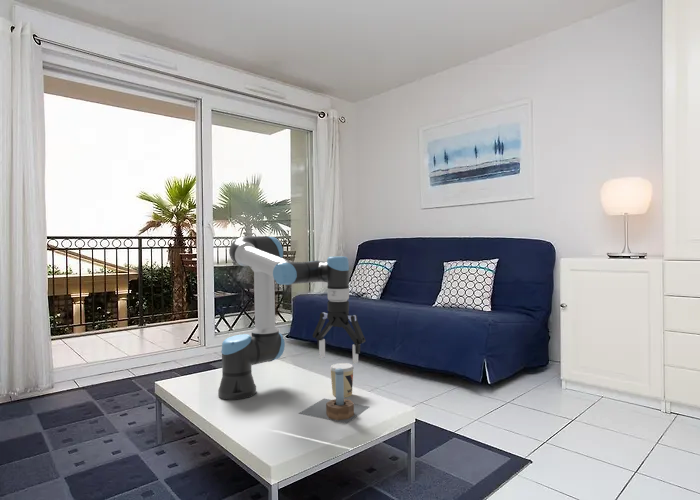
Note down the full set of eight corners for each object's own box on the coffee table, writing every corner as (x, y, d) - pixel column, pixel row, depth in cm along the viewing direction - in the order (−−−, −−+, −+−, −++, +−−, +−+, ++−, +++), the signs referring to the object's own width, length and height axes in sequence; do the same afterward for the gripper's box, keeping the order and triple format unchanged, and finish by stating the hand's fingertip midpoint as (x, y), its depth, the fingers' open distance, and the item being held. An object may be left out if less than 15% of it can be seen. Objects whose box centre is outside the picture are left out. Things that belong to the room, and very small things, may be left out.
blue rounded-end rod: (334, 415, 154) (333, 370, 154) (338, 412, 156) (337, 367, 156) (341, 416, 152) (340, 371, 152) (345, 414, 155) (344, 368, 155)
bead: (322, 416, 153) (322, 405, 153) (335, 408, 161) (335, 397, 161) (344, 421, 148) (344, 409, 148) (357, 412, 156) (357, 401, 156)
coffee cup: (351, 400, 170) (351, 369, 170) (328, 399, 172) (327, 368, 172) (356, 392, 180) (355, 363, 179) (333, 391, 181) (333, 362, 181)
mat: (298, 414, 156) (298, 413, 156) (323, 399, 171) (323, 398, 171) (347, 425, 147) (347, 423, 147) (369, 408, 162) (369, 406, 162)
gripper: (302, 299, 157) (303, 358, 157) (365, 304, 145) (365, 367, 145) (314, 296, 163) (314, 353, 164) (374, 301, 151) (375, 362, 152)
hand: (338, 360), depth 155 cm, fingers open, 13 cm apart
